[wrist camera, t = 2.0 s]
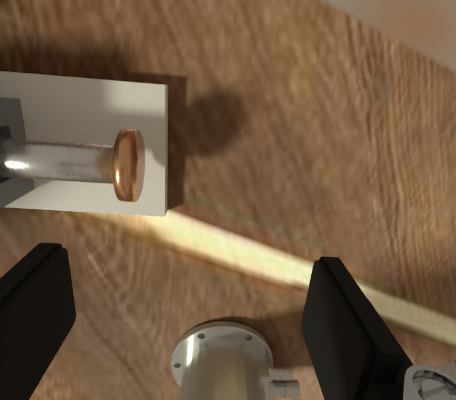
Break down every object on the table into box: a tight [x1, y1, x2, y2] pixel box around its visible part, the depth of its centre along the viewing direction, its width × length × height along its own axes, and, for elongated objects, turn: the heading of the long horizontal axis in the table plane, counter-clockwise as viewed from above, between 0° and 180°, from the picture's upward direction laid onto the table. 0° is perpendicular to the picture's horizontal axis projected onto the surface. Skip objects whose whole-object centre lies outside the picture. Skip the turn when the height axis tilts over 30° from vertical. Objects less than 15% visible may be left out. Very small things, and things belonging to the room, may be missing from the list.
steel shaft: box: [0, 128, 145, 202], centre depth 23 cm, size 14×6×6 cm, turn 85°
